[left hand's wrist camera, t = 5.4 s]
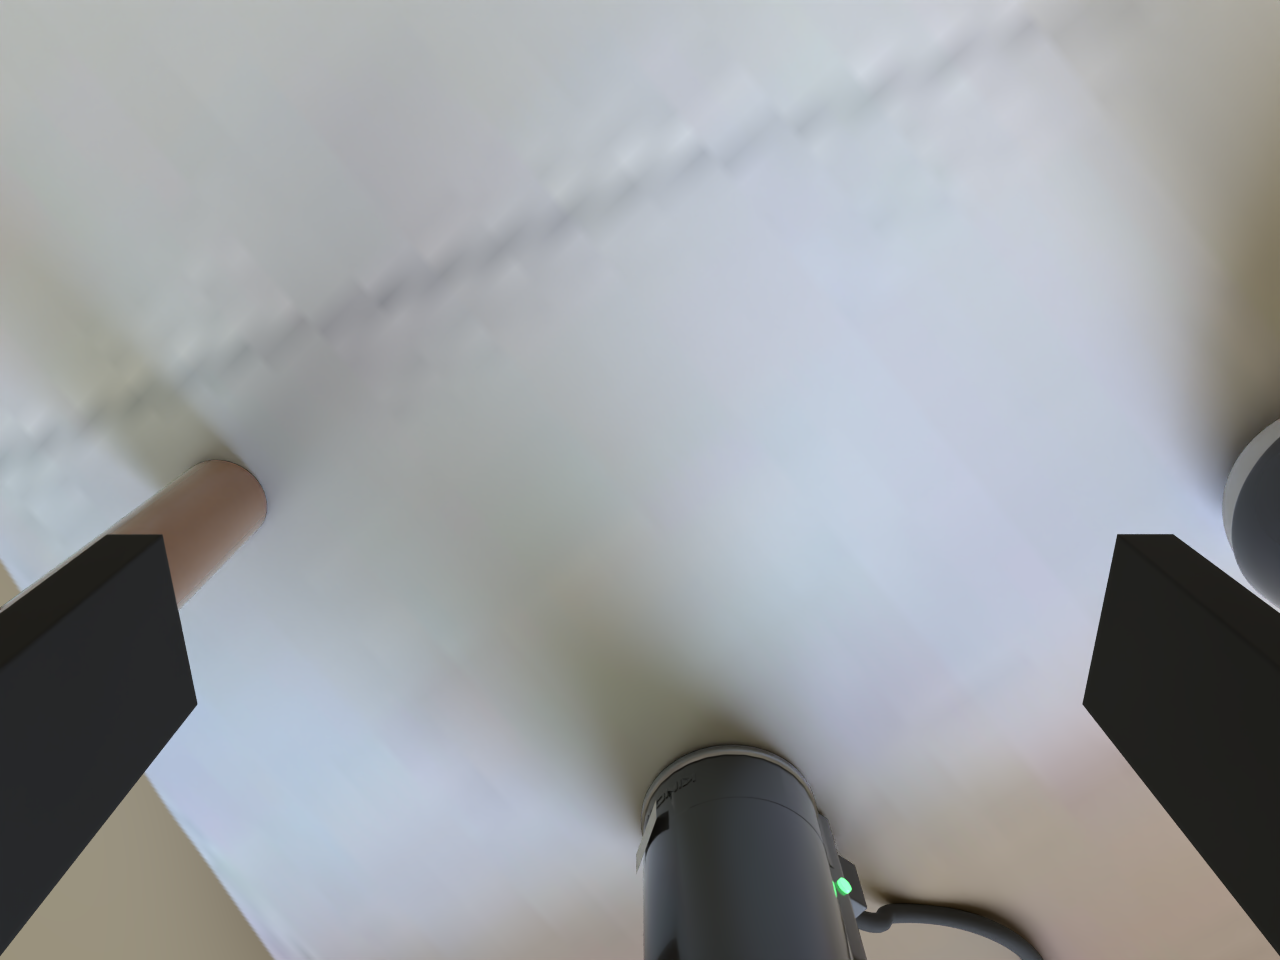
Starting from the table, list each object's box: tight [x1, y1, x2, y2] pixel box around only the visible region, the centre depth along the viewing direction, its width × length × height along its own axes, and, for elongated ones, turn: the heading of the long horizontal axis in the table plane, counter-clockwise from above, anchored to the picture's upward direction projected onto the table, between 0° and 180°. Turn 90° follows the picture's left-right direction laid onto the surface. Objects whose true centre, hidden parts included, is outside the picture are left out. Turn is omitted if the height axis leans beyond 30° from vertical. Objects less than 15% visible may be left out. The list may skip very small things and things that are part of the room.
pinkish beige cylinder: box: [0, 460, 267, 613], centre depth 33 cm, size 4×4×19 cm
